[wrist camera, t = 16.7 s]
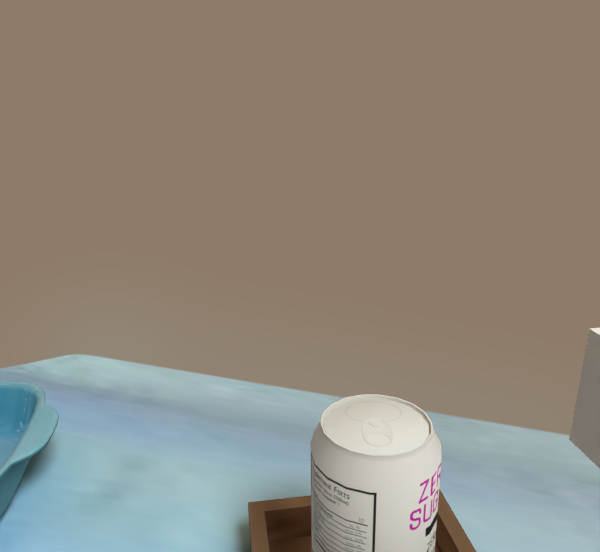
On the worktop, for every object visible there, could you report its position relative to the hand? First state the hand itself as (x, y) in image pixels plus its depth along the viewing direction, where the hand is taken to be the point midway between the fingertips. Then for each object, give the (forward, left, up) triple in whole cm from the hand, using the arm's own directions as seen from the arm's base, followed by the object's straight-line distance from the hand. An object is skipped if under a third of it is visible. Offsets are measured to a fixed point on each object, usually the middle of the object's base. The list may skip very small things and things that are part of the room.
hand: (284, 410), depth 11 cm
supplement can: (+8, +20, -29) cm, 36 cm away
